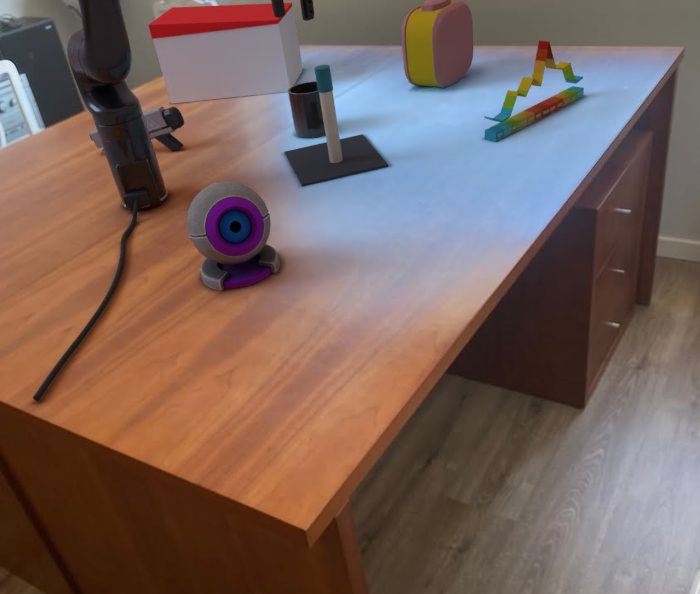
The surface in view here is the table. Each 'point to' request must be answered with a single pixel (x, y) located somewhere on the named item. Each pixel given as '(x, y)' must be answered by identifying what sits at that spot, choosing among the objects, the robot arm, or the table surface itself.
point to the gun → (157, 127)
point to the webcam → (231, 235)
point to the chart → (541, 109)
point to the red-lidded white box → (226, 51)
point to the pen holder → (306, 110)
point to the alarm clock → (437, 43)
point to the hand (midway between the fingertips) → (294, 18)
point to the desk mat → (317, 166)
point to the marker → (328, 112)
